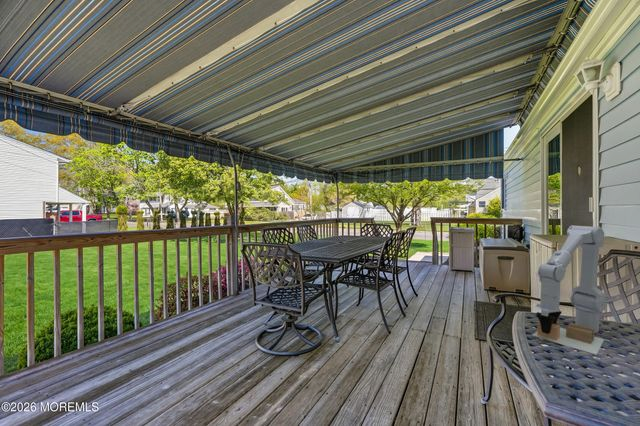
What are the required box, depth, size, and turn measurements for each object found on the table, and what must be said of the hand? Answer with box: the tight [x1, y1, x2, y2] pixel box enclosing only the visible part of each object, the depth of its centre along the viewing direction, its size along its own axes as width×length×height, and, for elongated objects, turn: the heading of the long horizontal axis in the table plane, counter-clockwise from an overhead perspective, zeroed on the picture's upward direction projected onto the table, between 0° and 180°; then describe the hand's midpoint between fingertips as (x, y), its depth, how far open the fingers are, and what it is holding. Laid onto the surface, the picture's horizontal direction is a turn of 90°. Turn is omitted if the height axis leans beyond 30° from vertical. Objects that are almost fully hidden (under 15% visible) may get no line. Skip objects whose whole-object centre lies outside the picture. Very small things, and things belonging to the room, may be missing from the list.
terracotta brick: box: [536, 321, 561, 340], centre depth 110 cm, size 4×6×4 cm
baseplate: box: [531, 327, 605, 356], centre depth 110 cm, size 20×18×1 cm
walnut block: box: [565, 322, 595, 344], centre depth 109 cm, size 7×7×4 cm
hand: (548, 330), depth 110 cm, fingers open, 7 cm apart
